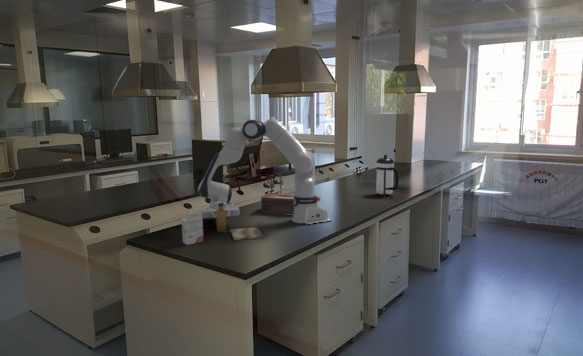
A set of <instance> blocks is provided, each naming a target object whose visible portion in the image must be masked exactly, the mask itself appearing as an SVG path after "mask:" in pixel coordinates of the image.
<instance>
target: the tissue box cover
mask: <svg viewBox="0 0 583 356" xmlns="http://www.w3.org/2000/svg"><path fill="white" fill-rule="evenodd" d="M294 196H295V193H280V192H279V193H276V192H268V193H266V194H264V195H263V196H261V198H260V199H261V200H260V201H261V202H260V203H261V205H260V208H261V210H260V211H261V214H269V213H278V214H277V215H285V214H293V213H294Z"/></svg>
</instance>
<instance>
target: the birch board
mask: <svg viewBox="0 0 583 356" xmlns="http://www.w3.org/2000/svg"><path fill="white" fill-rule="evenodd" d="M230 234H231V237H232V238H233V241H237V240H246V239H258V238H263V234H262V232H261V230H260V229H259V228H258V227H257V226H256V227H244V228H234V229H233V228H232V229H230Z"/></svg>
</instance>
